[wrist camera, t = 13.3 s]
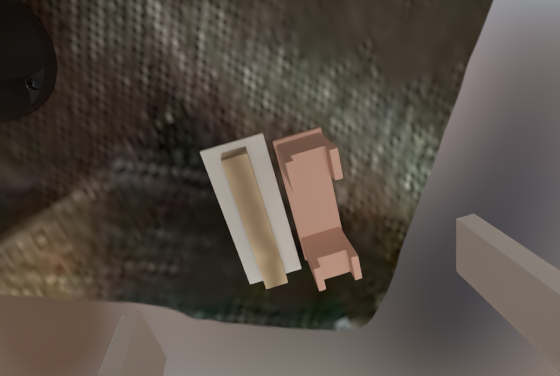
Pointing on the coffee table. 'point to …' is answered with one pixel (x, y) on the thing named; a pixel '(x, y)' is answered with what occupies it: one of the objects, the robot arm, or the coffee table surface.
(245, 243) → the mat
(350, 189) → the coffee table surface
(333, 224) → the stand
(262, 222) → the rail
